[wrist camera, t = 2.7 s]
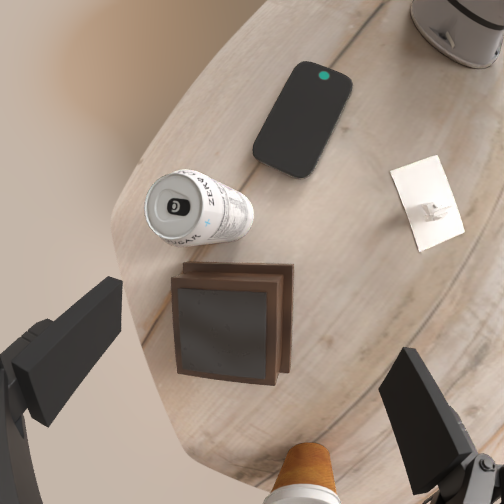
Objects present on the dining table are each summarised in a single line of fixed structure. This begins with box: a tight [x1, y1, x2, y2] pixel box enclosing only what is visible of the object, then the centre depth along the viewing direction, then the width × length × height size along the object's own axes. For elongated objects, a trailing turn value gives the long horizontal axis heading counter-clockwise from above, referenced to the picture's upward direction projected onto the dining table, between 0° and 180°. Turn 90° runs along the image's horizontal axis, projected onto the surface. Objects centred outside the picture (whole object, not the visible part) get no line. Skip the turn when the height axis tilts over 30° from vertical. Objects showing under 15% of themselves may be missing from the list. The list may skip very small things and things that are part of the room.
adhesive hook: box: [420, 201, 453, 223], centre depth 29 cm, size 3×3×3 cm
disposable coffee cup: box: [263, 443, 341, 504], centre depth 29 cm, size 10×10×12 cm
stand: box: [171, 262, 294, 386], centre depth 32 cm, size 13×13×7 cm
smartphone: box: [253, 61, 353, 179], centre depth 32 cm, size 8×1×15 cm
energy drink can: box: [144, 169, 254, 247], centre depth 28 cm, size 6×6×15 cm
